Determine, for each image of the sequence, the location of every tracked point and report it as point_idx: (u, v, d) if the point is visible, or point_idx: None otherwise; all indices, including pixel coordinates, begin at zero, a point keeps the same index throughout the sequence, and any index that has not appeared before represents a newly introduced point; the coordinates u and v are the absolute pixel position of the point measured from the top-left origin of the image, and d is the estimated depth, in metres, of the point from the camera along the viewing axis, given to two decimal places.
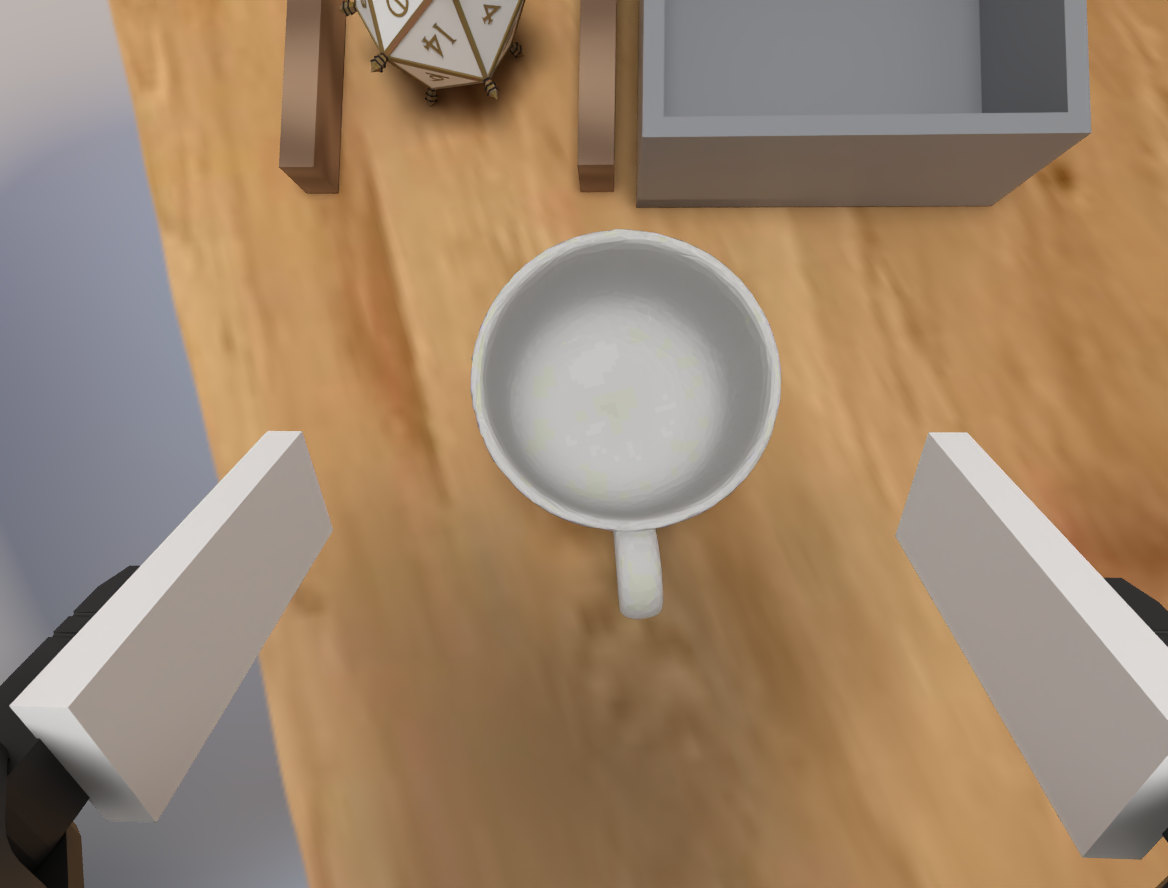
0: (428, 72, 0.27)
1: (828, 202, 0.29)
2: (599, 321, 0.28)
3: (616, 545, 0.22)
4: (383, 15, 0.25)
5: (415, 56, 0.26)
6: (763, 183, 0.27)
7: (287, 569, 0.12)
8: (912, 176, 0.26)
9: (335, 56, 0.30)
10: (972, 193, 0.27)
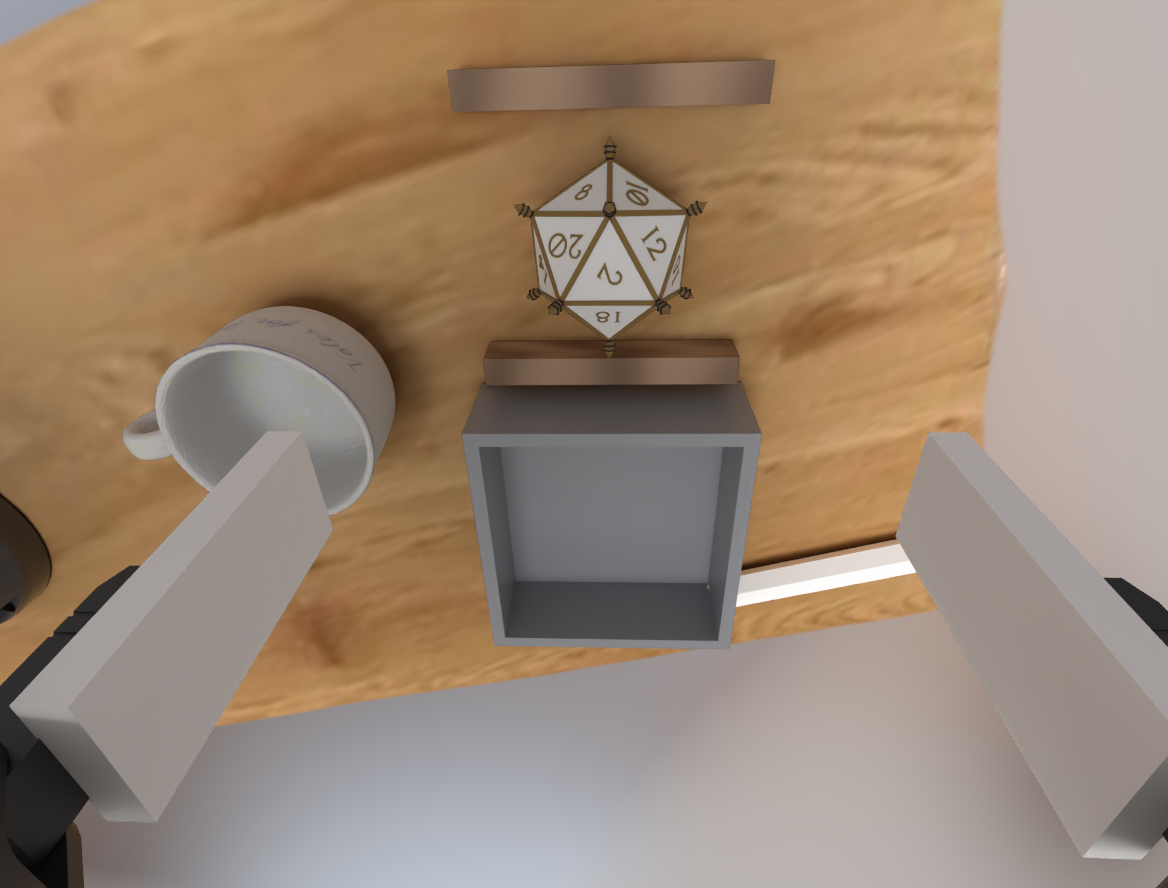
0: None
1: None
2: None
3: (161, 431, 0.32)
4: (553, 225, 0.27)
5: (536, 242, 0.28)
6: None
7: (287, 570, 0.12)
8: None
9: None
10: None
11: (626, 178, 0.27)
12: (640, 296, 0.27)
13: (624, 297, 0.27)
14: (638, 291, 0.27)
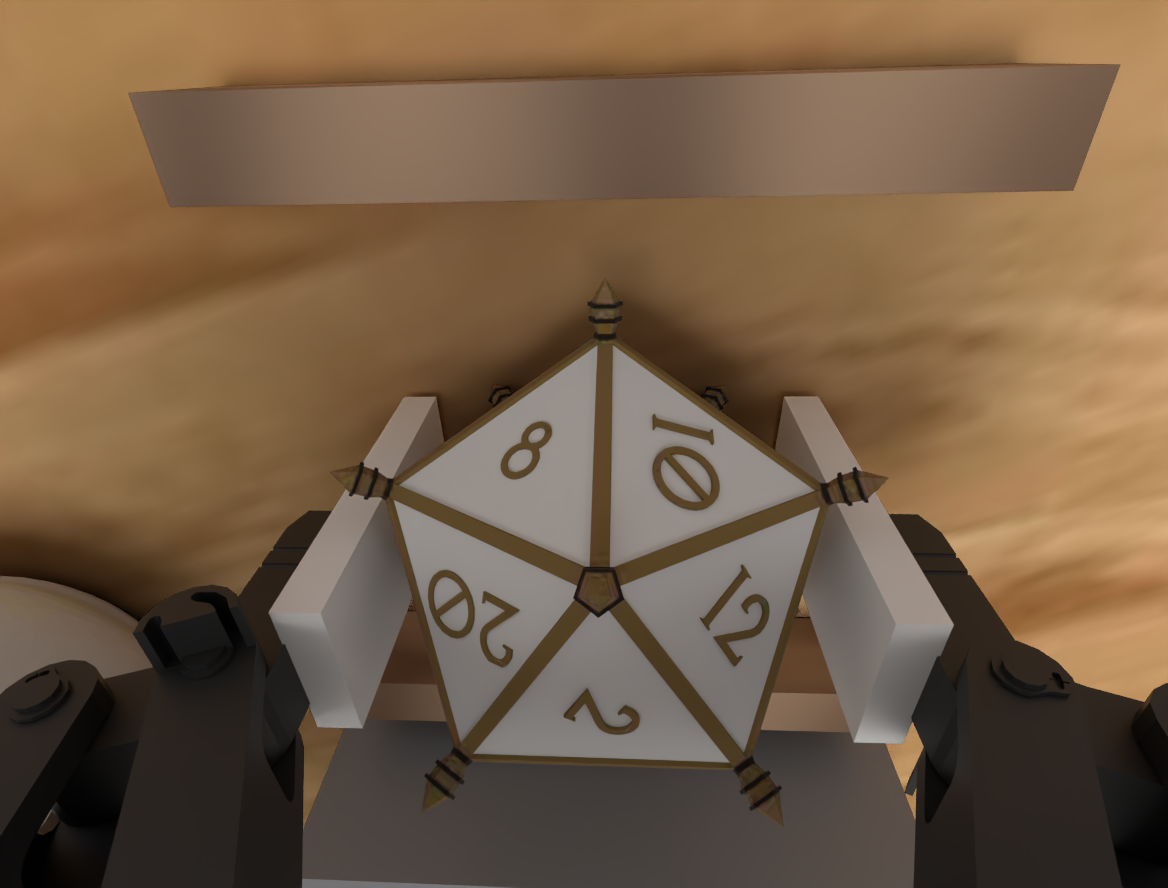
0: None
1: None
2: None
3: None
4: (439, 544, 0.09)
5: None
6: None
7: None
8: None
9: None
10: None
11: (652, 401, 0.09)
12: (692, 754, 0.09)
13: (645, 755, 0.09)
14: (686, 745, 0.09)
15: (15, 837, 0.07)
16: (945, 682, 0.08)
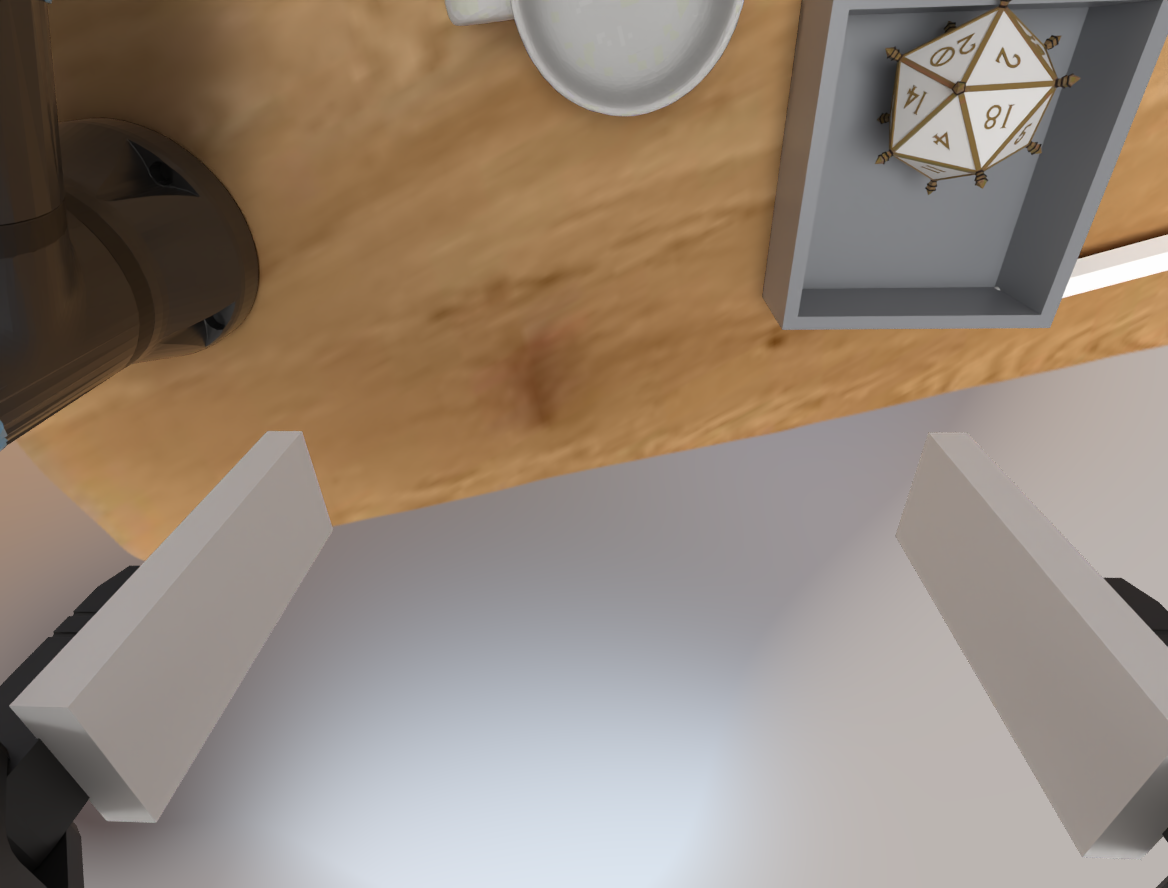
0: None
1: (779, 178, 0.38)
2: None
3: None
4: (931, 48, 0.29)
5: (902, 84, 0.31)
6: (796, 117, 0.34)
7: (287, 570, 0.12)
8: (782, 232, 0.37)
9: None
10: (769, 279, 0.40)
11: None
12: (1039, 77, 0.28)
13: (1023, 79, 0.28)
14: (1036, 72, 0.28)
15: None
16: None
